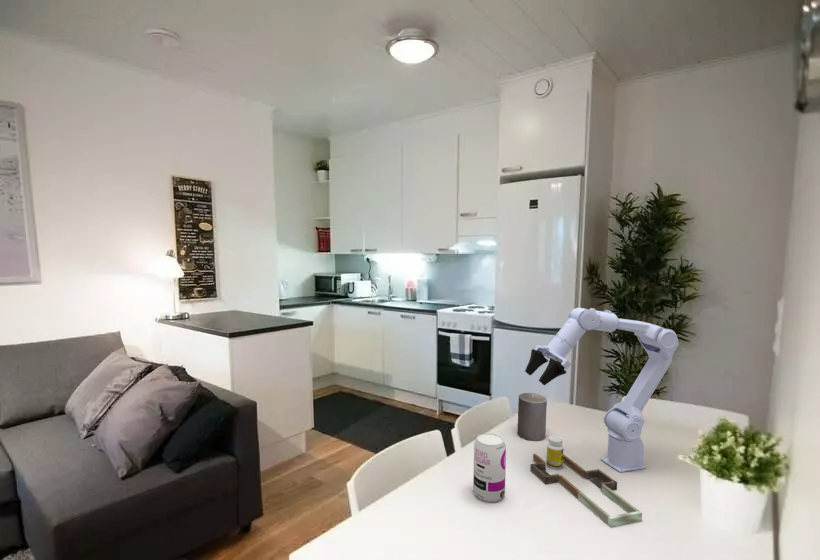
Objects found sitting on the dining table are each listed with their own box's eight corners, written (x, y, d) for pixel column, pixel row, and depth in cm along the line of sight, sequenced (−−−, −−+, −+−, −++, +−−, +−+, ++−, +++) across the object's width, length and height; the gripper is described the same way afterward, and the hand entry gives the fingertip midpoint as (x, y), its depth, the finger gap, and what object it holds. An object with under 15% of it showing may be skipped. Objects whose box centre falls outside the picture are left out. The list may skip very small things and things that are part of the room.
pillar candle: (511, 432, 146) (512, 391, 145) (532, 427, 150) (533, 387, 149) (530, 443, 137) (531, 400, 136) (552, 438, 142) (553, 396, 140)
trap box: (569, 455, 129) (570, 449, 129) (655, 518, 98) (656, 510, 98) (520, 462, 125) (521, 455, 125) (595, 530, 94) (595, 522, 94)
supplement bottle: (564, 470, 120) (565, 442, 119) (547, 468, 121) (548, 441, 120) (561, 462, 125) (562, 435, 124) (545, 461, 126) (546, 434, 125)
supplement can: (506, 488, 110) (507, 434, 109) (502, 506, 102) (504, 448, 102) (476, 483, 113) (477, 430, 112) (470, 499, 105) (471, 443, 104)
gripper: (541, 327, 125) (513, 361, 124) (570, 341, 111) (539, 379, 110) (555, 341, 126) (528, 375, 126) (586, 356, 113) (555, 394, 112)
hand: (534, 378), depth 118 cm, fingers open, 7 cm apart
